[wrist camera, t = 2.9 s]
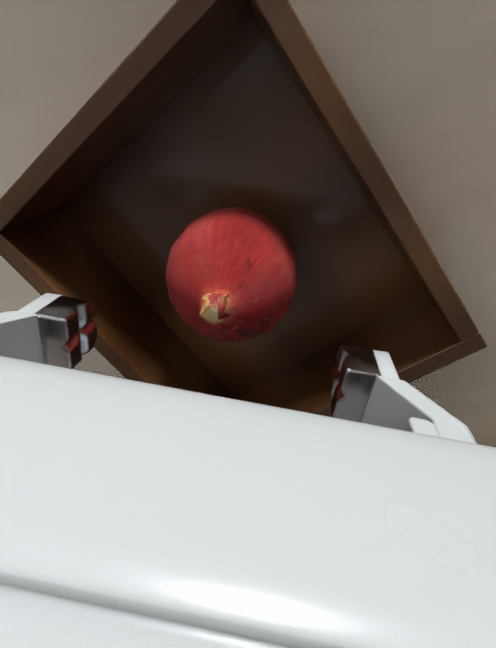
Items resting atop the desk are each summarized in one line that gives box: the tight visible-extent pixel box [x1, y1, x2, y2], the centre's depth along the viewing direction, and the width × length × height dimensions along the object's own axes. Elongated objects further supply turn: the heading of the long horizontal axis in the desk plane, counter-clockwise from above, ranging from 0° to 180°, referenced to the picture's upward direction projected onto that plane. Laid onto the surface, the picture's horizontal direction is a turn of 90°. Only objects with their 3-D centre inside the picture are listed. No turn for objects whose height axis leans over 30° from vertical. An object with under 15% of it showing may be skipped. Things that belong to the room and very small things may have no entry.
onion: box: [165, 207, 298, 342], centre depth 17 cm, size 6×6×8 cm
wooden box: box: [0, 0, 487, 417], centre depth 18 cm, size 17×15×5 cm
